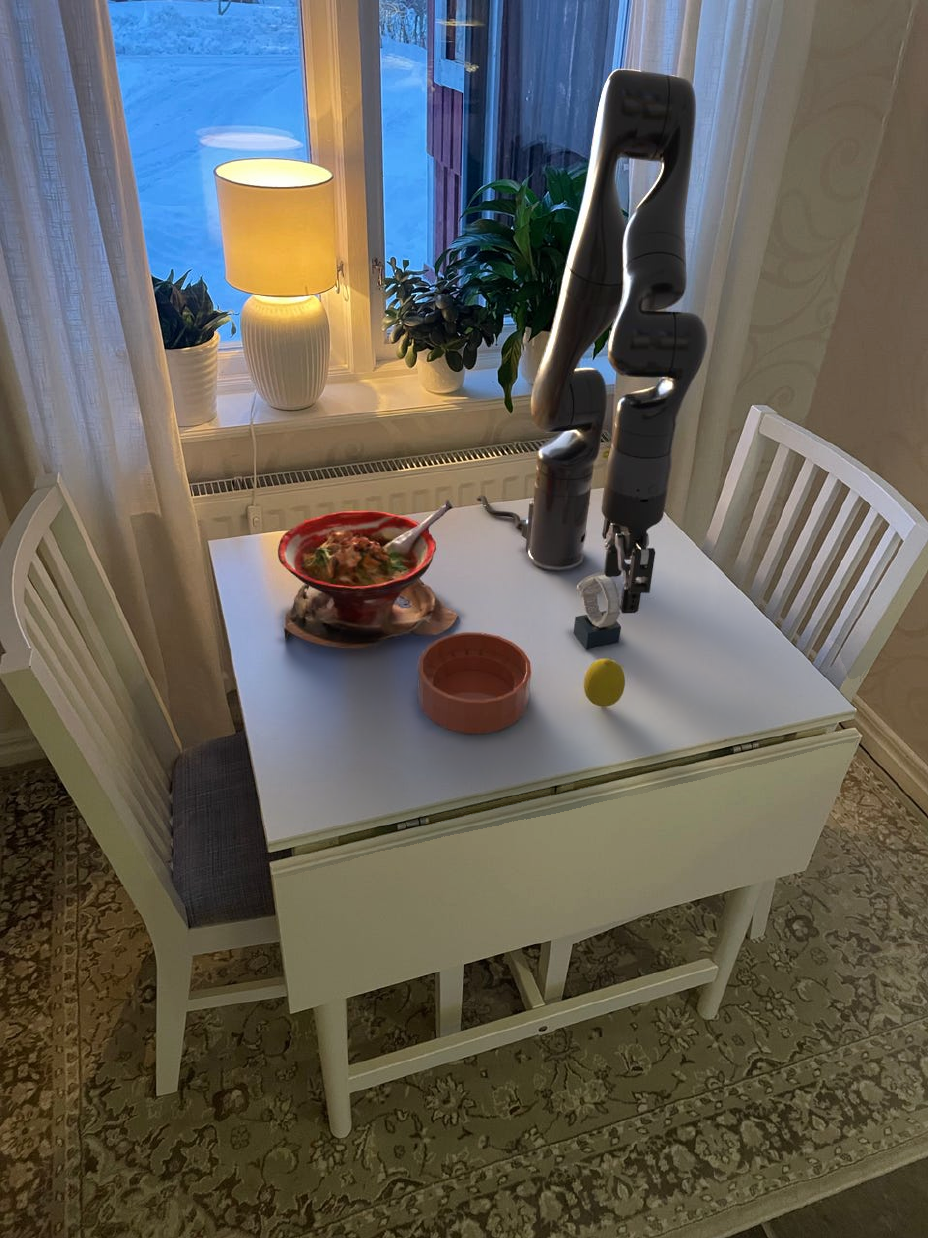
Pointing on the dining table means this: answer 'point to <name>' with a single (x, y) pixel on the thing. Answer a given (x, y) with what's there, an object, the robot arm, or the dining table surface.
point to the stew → (362, 578)
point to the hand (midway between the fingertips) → (620, 593)
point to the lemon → (604, 682)
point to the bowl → (473, 682)
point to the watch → (598, 612)
